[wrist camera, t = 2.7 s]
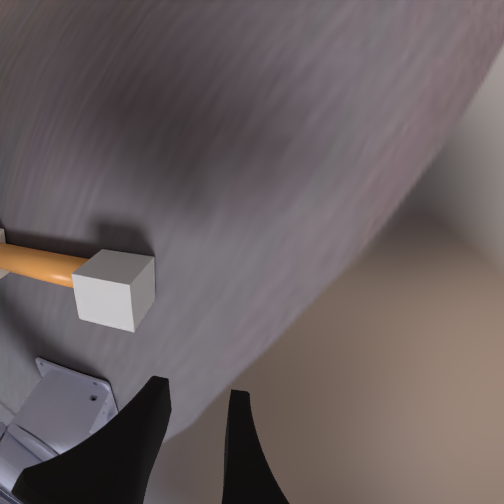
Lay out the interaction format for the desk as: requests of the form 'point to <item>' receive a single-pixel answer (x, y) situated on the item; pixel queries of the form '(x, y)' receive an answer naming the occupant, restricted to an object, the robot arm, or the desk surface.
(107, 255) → the plug
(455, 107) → the desk surface
